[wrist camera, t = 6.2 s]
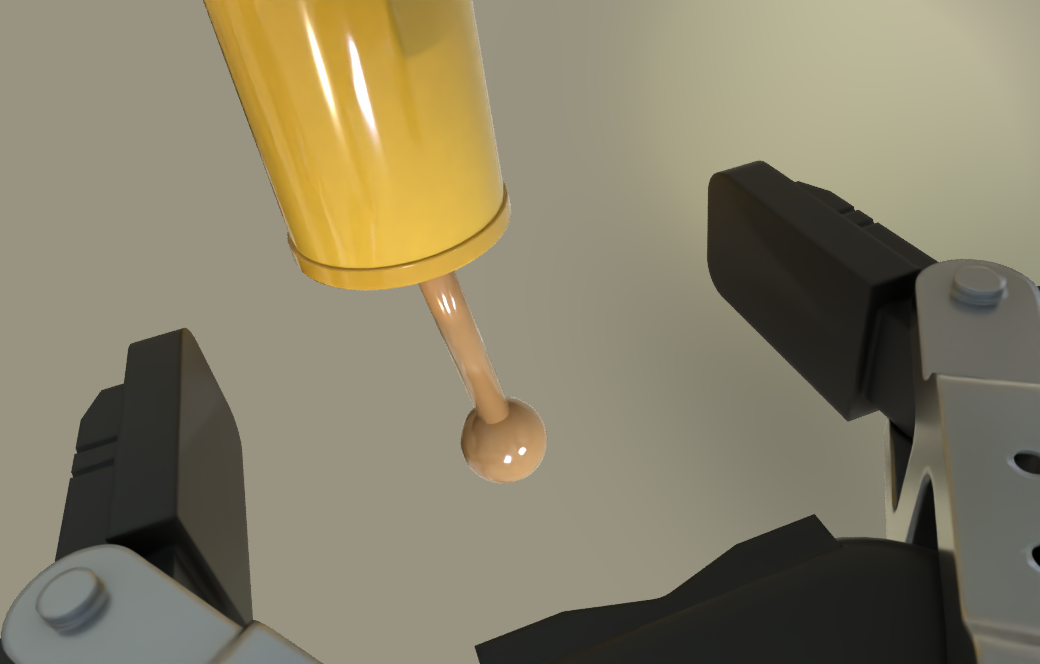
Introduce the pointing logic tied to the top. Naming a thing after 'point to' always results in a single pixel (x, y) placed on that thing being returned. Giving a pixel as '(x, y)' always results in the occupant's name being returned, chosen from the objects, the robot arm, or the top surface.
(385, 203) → the spoon crock
